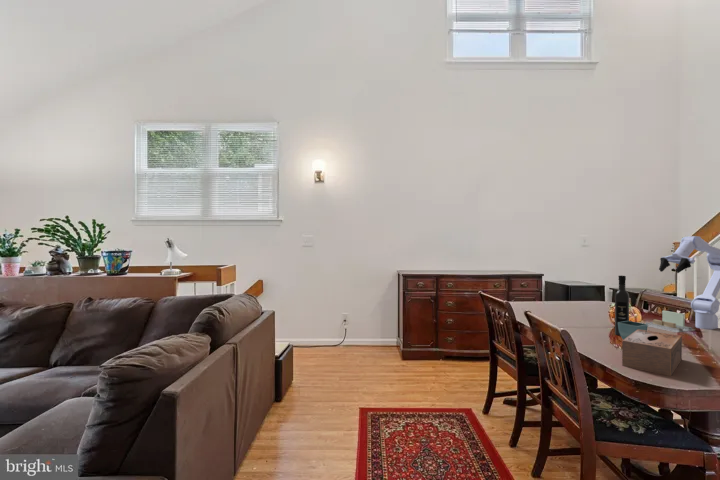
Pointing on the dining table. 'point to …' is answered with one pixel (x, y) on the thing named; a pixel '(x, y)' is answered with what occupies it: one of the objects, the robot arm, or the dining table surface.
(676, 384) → the dining table surface
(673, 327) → the oak offcut
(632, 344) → the tissue box cover
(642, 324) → the flower pot
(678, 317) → the sage panel
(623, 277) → the wine bottle
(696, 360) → the dining table surface
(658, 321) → the oak offcut
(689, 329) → the slot rack
